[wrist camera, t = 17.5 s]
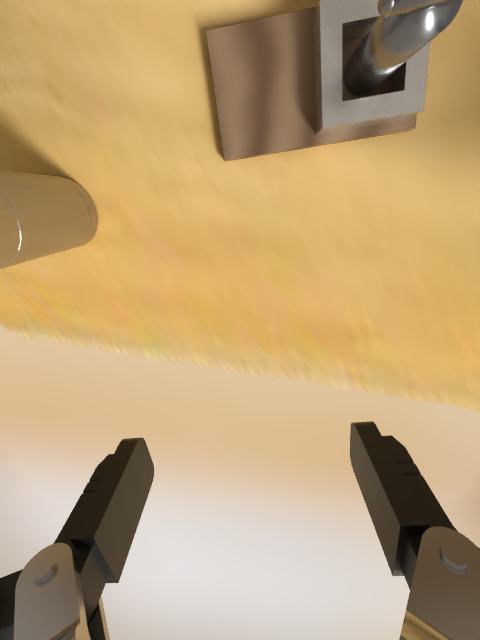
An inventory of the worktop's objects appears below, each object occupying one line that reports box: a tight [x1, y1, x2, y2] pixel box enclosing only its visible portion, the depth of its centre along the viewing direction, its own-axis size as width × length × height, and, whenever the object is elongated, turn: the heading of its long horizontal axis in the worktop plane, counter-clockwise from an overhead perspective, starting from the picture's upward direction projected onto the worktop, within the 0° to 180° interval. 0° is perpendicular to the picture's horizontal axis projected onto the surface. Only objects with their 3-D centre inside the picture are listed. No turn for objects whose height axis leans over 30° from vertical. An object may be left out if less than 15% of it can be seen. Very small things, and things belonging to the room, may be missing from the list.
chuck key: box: [343, 0, 463, 96], centre depth 24 cm, size 7×4×14 cm, turn 99°
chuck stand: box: [206, 0, 430, 161], centre depth 30 cm, size 22×12×5 cm, turn 98°
